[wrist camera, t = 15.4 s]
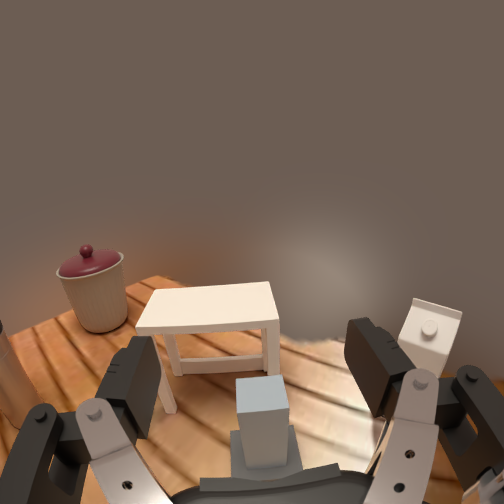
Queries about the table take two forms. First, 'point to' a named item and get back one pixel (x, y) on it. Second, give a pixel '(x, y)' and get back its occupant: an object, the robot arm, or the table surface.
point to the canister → (95, 288)
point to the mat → (264, 473)
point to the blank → (263, 420)
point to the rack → (212, 328)
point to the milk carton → (429, 335)
